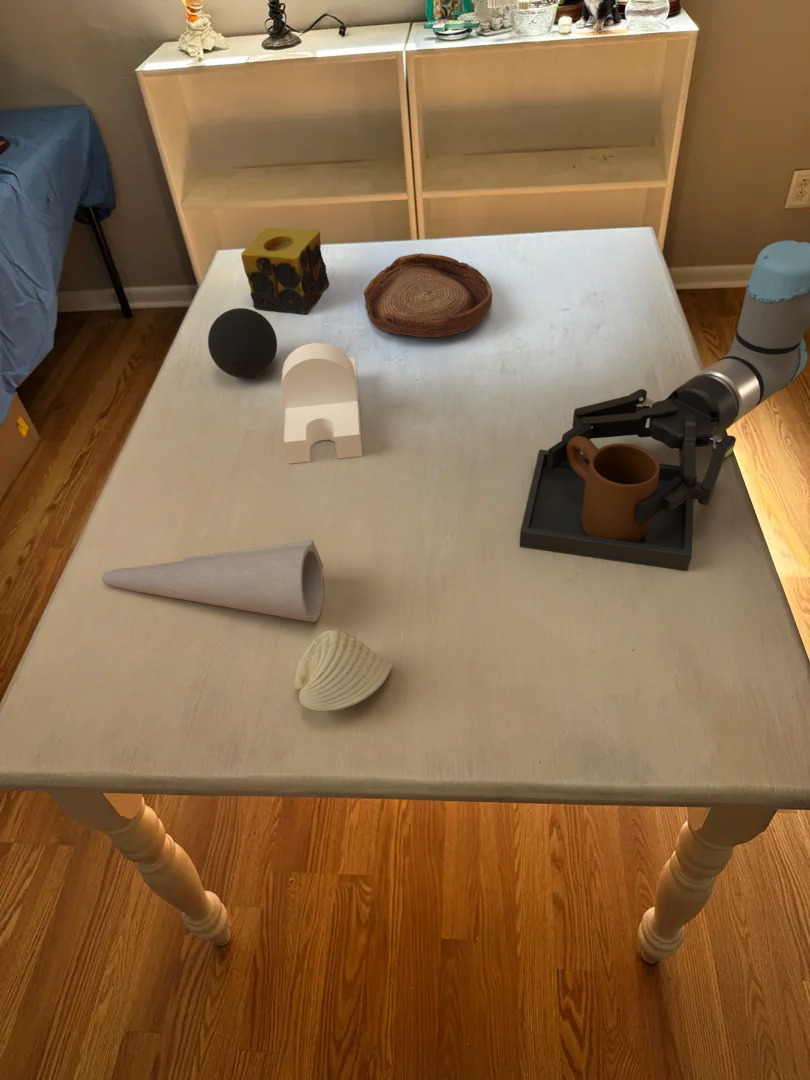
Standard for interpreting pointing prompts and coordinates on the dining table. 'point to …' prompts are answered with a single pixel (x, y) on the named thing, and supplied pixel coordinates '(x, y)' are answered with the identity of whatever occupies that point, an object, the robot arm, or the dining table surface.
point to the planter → (238, 580)
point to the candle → (285, 269)
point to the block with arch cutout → (320, 402)
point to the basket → (427, 296)
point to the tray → (560, 530)
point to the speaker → (242, 343)
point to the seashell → (338, 672)
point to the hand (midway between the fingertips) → (592, 486)
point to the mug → (613, 487)
